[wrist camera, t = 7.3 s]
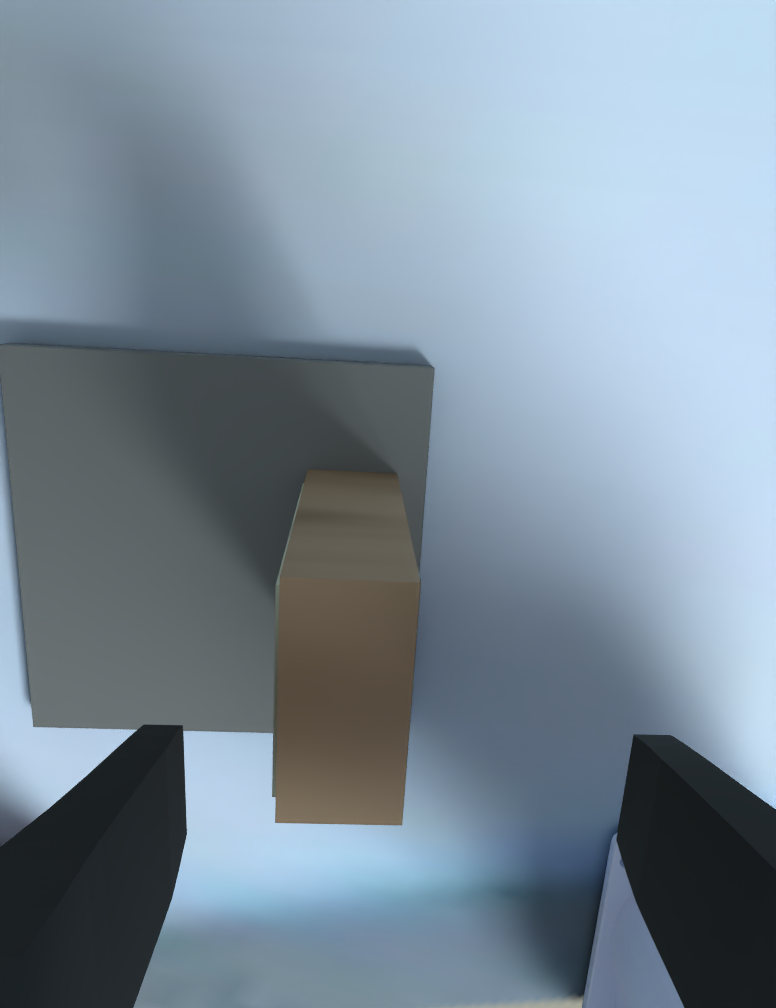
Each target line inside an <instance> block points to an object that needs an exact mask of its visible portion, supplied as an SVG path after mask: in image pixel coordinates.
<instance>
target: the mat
mask: <svg viewBox="0 0 776 1008" xmlns="http://www.w3.org/2000/svg"><path fill="white" fill-rule="evenodd" d="M0 377H1V387H2V398H3V409H4V419H5V430H6V441H7V451H8V462H9V472H10V483H11V494H12V504H13V515H14V526H15V536H16V547H17V558H18V568H19V579H20V590H21V600H22V611H23V622H24V632H25V643H26V653H27V664H28V675H29V685H30V696H31V707H32V717H33V727H58V728H97V729H137V730H138V729H139V728H140V727H141V726H142V725H144V724H147V725H183V731H217V732H257V733H273V719H274V656H275V592H276V582H277V578H278V574H279V571H280V567H281V563H282V559H283V556H284V552H285V548H286V544H287V541H288V537H289V533H290V529H291V526H292V522H293V518H294V514H295V511H296V507H297V503H298V499H299V496H300V492H301V488H302V484H303V483H304V482H305V478H306V474H307V470H308V469H313V470H334V471H356V472H377V473H397V475H398V479H399V484H400V489H401V493H402V498H403V503H404V507H405V512H406V516H407V521H408V526H409V530H410V535H411V540H412V544H413V549H414V554H415V558H416V563H417V567H418V572H419V568H420V555H421V541H422V528H423V515H424V501H425V488H426V475H427V461H428V448H429V435H430V421H431V408H432V394H433V381H434V367H433V366H427V365H408V364H389V363H371V362H352V361H334V360H315V359H297V358H278V357H260V356H241V355H223V354H204V353H185V352H167V351H148V350H130V349H111V348H93V347H74V346H56V345H37V344H18V343H5V344H0Z"/></svg>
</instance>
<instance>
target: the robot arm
mask: <svg viewBox="0 0 776 1008" xmlns="http://www.w3.org/2000/svg"><path fill="white" fill-rule="evenodd" d="M186 835H187V828H186V799H185V770H184V741H183V725H147V724H144V725H142V726H141V727H140V728H139V729H138V730H137V731H136V732H135V733H133V734H132V735H131V736H130V737H129V738H128V739H127V740H125V741H124V742H123V743H122V744H121V745H120V746H119V747H118V748H117V749H116V750H114V751H113V752H112V753H111V754H110V755H109V756H108V757H107V758H106V759H105V760H104V761H102V762H101V763H100V764H99V765H98V766H97V767H96V768H95V769H94V770H93V771H91V772H90V773H89V774H88V775H87V776H86V777H85V778H84V779H82V780H81V781H80V782H79V783H78V784H77V785H76V786H74V787H73V788H72V789H71V790H70V791H69V792H68V793H66V794H65V795H64V796H63V797H62V798H61V799H60V800H58V801H57V802H56V803H55V804H54V805H53V806H51V807H50V808H49V809H48V810H47V811H45V812H44V813H43V814H42V815H40V816H39V817H38V818H37V819H35V820H34V821H33V822H32V823H30V824H29V825H28V826H26V827H25V828H24V829H23V830H21V831H20V832H19V833H18V834H16V835H15V836H14V837H13V838H11V839H10V840H9V841H8V842H6V843H5V844H4V845H3V846H1V847H0V1008H133V1007H134V1004H135V1001H136V998H137V996H138V993H139V990H140V987H141V984H142V982H143V979H144V976H145V973H146V970H147V968H148V965H149V962H150V959H151V957H152V954H153V951H154V948H155V945H156V942H157V940H158V937H159V934H160V931H161V928H162V925H163V923H164V920H165V917H166V914H167V911H168V908H169V905H170V902H171V900H172V896H173V892H174V888H175V883H176V879H177V875H178V871H179V867H180V862H181V858H182V853H183V849H184V844H185V840H186ZM621 858H622V859H621ZM582 1008H776V809H774V808H773V807H771V806H770V805H769V804H767V803H766V802H764V801H763V800H762V799H760V798H759V797H757V796H756V795H755V794H753V793H752V792H751V791H749V790H748V789H746V788H745V787H744V786H742V785H741V784H740V783H738V782H737V781H735V780H734V779H733V778H731V777H730V776H729V775H727V774H726V773H724V772H723V771H722V770H720V769H719V768H718V767H716V766H715V765H714V764H712V763H711V762H709V761H708V760H707V759H705V758H704V757H702V756H701V755H700V754H698V753H697V752H695V751H694V750H693V749H691V748H690V747H688V746H687V745H685V744H684V743H682V742H681V741H679V740H678V739H676V738H674V737H673V736H671V735H634V736H633V742H632V748H631V754H630V760H629V766H628V772H627V778H626V784H625V790H624V796H623V802H622V808H621V814H620V820H619V826H618V832H617V833H616V834H615V835H614V836H613V838H612V840H611V845H610V851H609V856H608V862H607V868H606V873H605V879H604V885H603V891H602V896H601V902H600V908H599V913H598V919H597V925H596V930H595V936H594V942H593V947H592V953H591V959H590V965H589V970H588V976H587V982H586V987H585V993H584V999H583V1004H582Z"/></svg>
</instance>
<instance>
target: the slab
mask: <svg viewBox="0 0 776 1008" xmlns="http://www.w3.org/2000/svg"><path fill="white" fill-rule="evenodd" d="M420 586H421V581H420V577H419V572H418V567H417V563H416V558H415V554H414V549H413V544H412V540H411V535H410V530H409V526H408V521H407V516H406V512H405V507H404V503H403V498H402V493H401V489H400V484H399V479H398V475H397V473H377V472H356V471H334V470H313V469H308V470H307V474H306V478H305V482H304V483H303V484H302V488H301V492H300V496H299V499H298V503H297V507H296V511H295V514H294V518H293V522H292V526H291V529H290V533H289V537H288V541H287V544H286V548H285V552H284V556H283V559H282V563H281V567H280V571H279V574H278V578H277V582H276V592H275V656H274V719H273V782H272V797H276V814H275V823H309V824H361V825H402V819H403V806H404V793H405V780H406V767H407V754H408V741H409V728H410V715H411V702H412V689H413V676H414V664H415V651H416V638H417V625H418V612H419V599H420Z"/></svg>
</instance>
